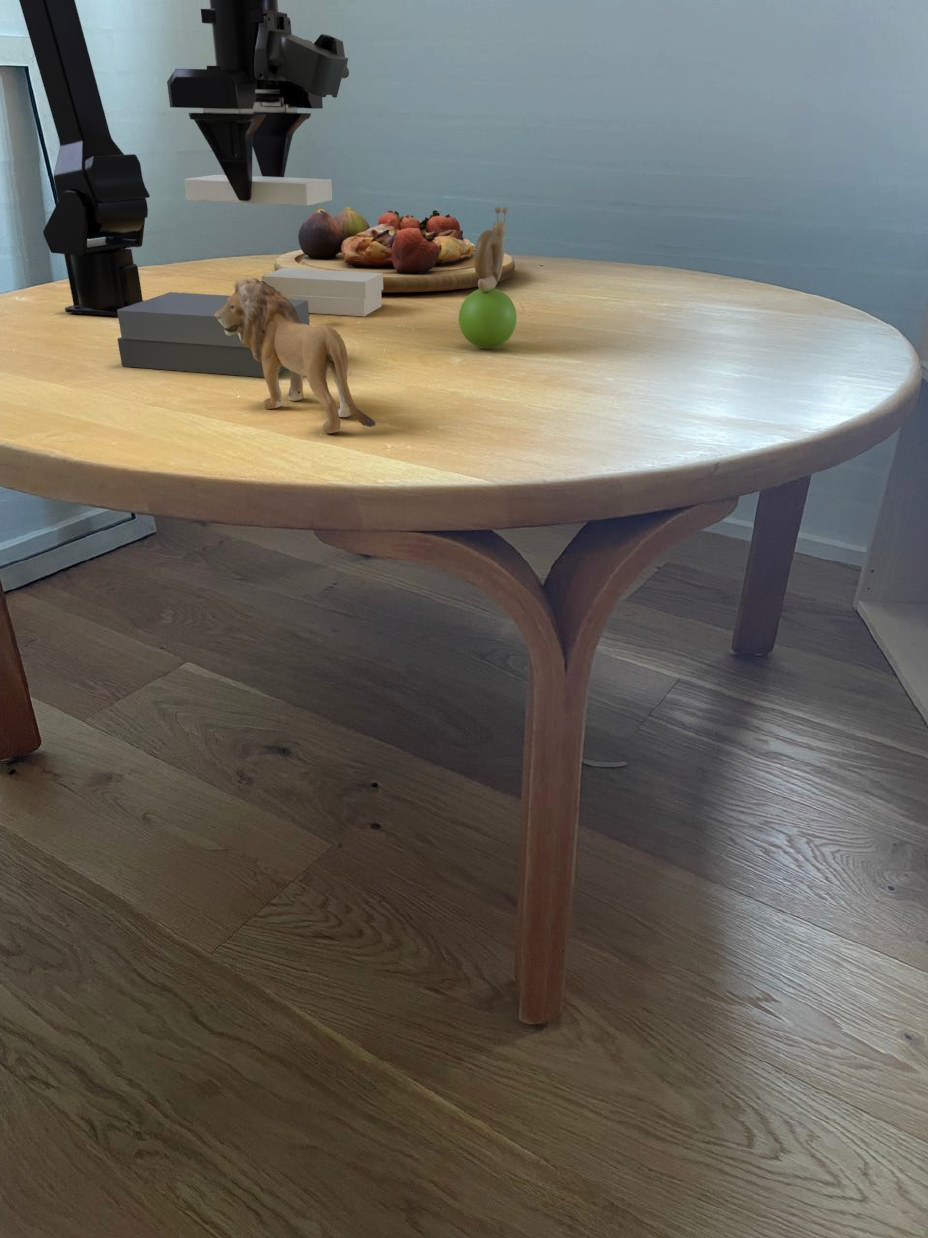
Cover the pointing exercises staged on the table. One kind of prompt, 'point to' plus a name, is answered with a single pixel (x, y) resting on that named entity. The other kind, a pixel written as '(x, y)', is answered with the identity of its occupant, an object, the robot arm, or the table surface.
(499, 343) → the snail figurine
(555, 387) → the table surface
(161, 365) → the dark grey box
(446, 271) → the wooden plate
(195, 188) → the white rectangular block
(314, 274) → the light grey block
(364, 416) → the lion figurine
